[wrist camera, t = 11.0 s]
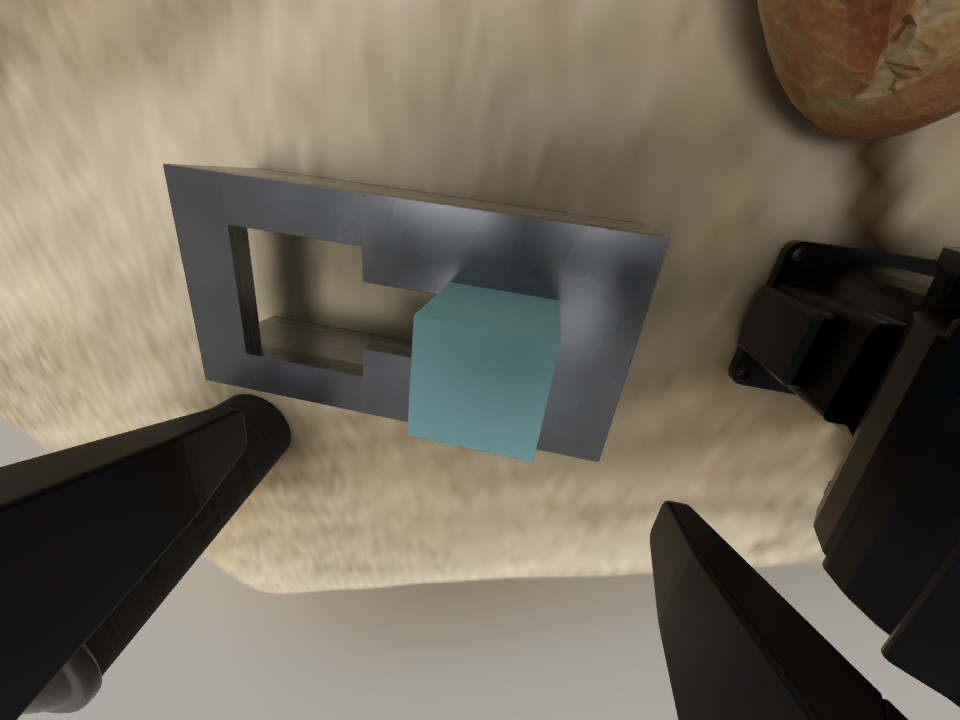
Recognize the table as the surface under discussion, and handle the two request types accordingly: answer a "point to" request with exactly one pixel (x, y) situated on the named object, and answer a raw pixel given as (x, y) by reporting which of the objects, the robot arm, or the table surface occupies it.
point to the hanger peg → (483, 369)
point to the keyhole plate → (411, 288)
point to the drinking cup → (170, 561)
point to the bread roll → (866, 62)
